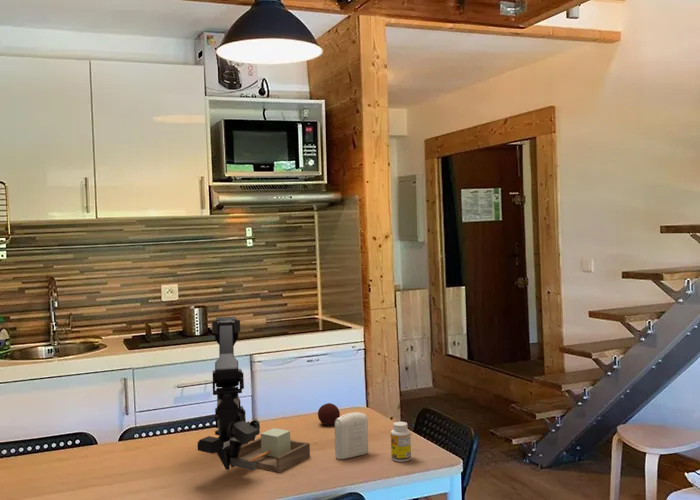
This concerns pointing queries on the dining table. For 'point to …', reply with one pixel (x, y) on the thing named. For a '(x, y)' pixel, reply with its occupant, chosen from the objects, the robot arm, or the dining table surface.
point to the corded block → (267, 447)
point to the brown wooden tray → (275, 464)
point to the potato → (328, 414)
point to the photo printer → (351, 435)
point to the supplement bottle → (400, 442)
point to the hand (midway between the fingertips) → (230, 468)
